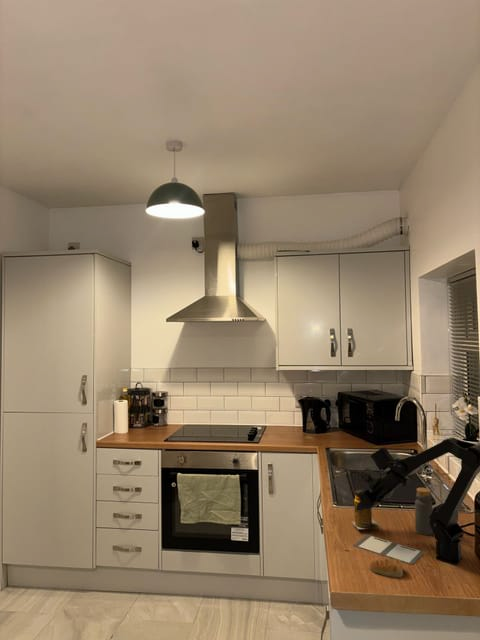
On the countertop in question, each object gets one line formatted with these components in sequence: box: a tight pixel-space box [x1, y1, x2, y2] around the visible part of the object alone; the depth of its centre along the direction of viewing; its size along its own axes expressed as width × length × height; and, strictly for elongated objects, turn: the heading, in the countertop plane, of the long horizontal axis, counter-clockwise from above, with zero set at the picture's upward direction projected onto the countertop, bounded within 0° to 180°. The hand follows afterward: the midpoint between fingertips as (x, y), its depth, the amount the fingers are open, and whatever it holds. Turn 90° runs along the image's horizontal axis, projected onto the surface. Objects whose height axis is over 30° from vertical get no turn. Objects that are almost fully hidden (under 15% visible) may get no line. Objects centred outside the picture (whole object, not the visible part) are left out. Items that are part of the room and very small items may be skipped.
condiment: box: [351, 489, 382, 530], centre depth 168 cm, size 7×8×12 cm
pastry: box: [369, 557, 404, 578], centre depth 138 cm, size 9×7×4 cm
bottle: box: [414, 487, 434, 536], centre depth 165 cm, size 6×6×15 cm
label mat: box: [352, 534, 425, 566], centre depth 152 cm, size 20×11×1 cm, turn 49°
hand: (361, 506), depth 169 cm, fingers closed on condiment, 6 cm apart
